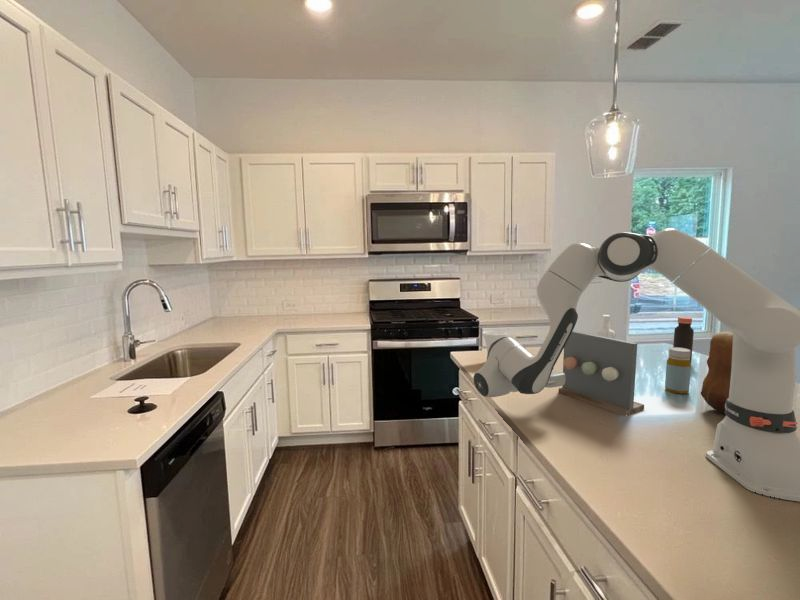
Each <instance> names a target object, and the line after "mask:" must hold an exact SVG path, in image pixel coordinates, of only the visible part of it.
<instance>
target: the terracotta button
mask: <svg viewBox="0 0 800 600" xmlns="http://www.w3.org/2000/svg"><path fill="white" fill-rule="evenodd" d="M563 359H564V358H563ZM562 363H564V366H565V368H567V369H569V370H570V369H574V368H577V367H578V360H577V359H576V358H575V357H568V358H565V359H564V361H563V362H562Z"/></svg>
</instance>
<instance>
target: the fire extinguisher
mask: <svg viewBox="0 0 800 600" xmlns="http://www.w3.org/2000/svg"><path fill="white" fill-rule="evenodd" d="M601 317H602V319H603V322H602V328H601V329H598V331H597V332H596V335H598V336H603V337H608V338H614V339H617V338H616V333H615V330H613V329H611V323H610V322H611V315H609V314H602V316H601Z"/></svg>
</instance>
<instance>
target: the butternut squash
mask: <svg viewBox="0 0 800 600" xmlns="http://www.w3.org/2000/svg"><path fill="white" fill-rule="evenodd" d="M732 348H733V332H732V331H720V332H717V333H715V334H714V335H713V336H712V337H711V339H710V342H709V351H708V352H709V353H708V358H707V360H706V365H707V367H708V370H707V374H706V376H705V377H704V380H703V381H702V385H701V386H702V387H701V391H700V395H701V397H702V398H703V399H704V401H705V402H706V404H707V405H708V406H710V407H711V408H712V409H713V410H716V411H718V412H721V413H723V414H725V403H726V399H727V398H729V390H730V379H731V368H732Z"/></svg>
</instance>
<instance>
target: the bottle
mask: <svg viewBox="0 0 800 600" xmlns="http://www.w3.org/2000/svg"><path fill="white" fill-rule="evenodd" d="M690 353H691V351H690V350H689V349H686V348H679V347H673V346H672V347H669V349H668V358H667V359H666V366H665V380H664V389H665V390H666V391H667V392H669V393H672V394H676V393H678V395H685V394H686V395H687V394H688V393H689V391H690V383H691V371H692V361H691V362H690Z"/></svg>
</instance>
